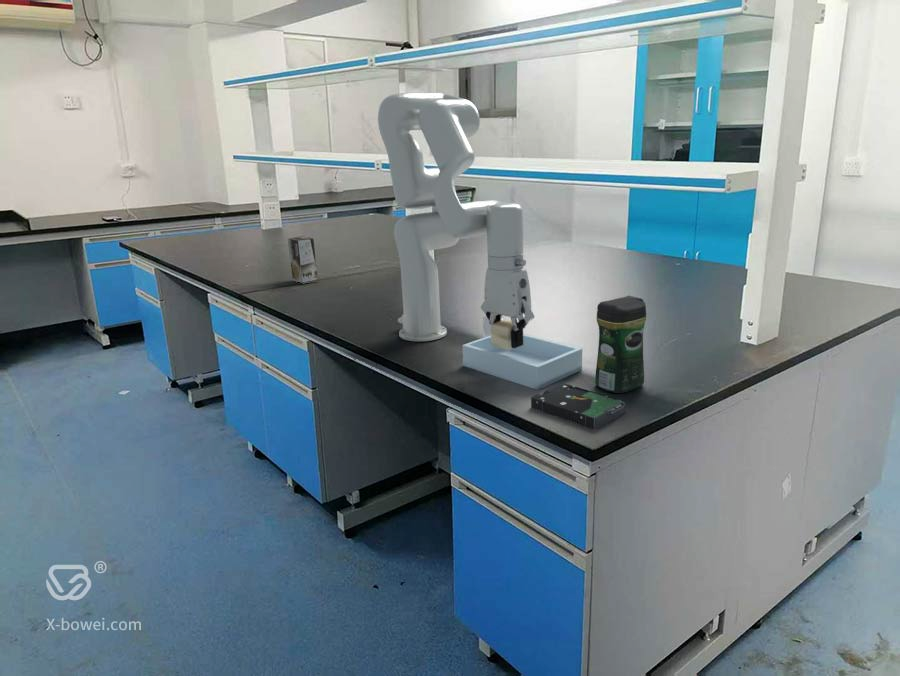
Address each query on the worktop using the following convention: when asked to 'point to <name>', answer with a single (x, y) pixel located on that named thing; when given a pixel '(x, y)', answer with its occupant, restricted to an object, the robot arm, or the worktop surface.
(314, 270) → the coffee box
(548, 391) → the disk drive
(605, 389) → the coffee jar
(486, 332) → the aluminium cylinder
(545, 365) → the tray
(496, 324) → the wooden cube
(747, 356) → the worktop surface
